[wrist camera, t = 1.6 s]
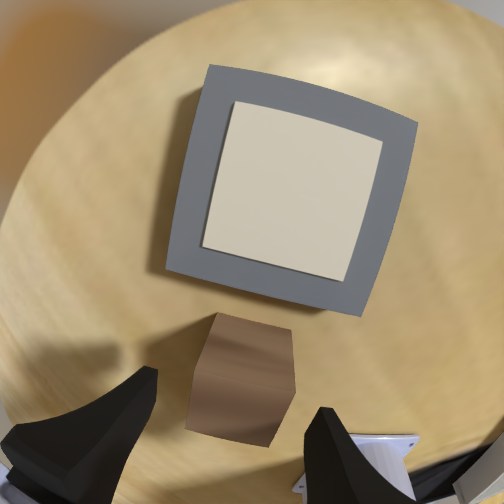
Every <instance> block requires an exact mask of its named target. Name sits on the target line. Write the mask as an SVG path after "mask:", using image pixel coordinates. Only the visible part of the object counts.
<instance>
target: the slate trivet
mask: <svg viewBox="0 0 504 504" xmlns="http://www.w3.org/2000/svg"><path fill="white" fill-rule="evenodd" d="M417 127H418V122H416V121H414V120H412V119H409V118H407V117H405V116H402V115H400V114H398V113H395V112H393V111H390V110H388V109H385V108H383V107H380V106H378V105H375V104H372V103H370V102H367V101H364V100H361V99H359V98H356V97H353V96H350V95H347V94H344V93H341V92H337V91H334V90H331V89H328V88H324V87H321V86H317V85H314V84H310V83H306V82H302V81H298V80H294V79H290V78H286V77H281V76H277V75H272V74H267V73H262V72H257V71H251V70H246V69H240V68H233V67H226V66H219V65H211V64H209V68H208V71H207V74H206V78H205V81H204V85H203V88H202V92H201V95H200V99H199V103H198V107H197V110H196V114H195V118H194V122H193V126H192V130H191V134H190V139H189V143H188V147H187V152H186V156H185V161H184V165H183V170H182V175H181V180H180V185H179V190H178V195H177V200H176V205H175V211H174V216H173V222H172V228H171V234H170V240H169V247H168V253H167V260H166V267H165V269H166V270H170V271H173V272H177V273H180V274H184V275H188V276H191V277H195V278H199V279H203V280H206V281H210V282H214V283H218V284H222V285H225V286H229V287H233V288H237V289H241V290H245V291H249V292H253V293H257V294H261V295H265V296H270V297H274V298H278V299H282V300H286V301H291V302H295V303H299V304H303V305H308V306H312V307H317V308H321V309H326V310H330V311H335V312H339V313H344V314H349V315H353V316H358V317H361V315H362V313H363V311H364V308H365V306H366V303H367V301H368V298H369V296H370V293H371V290H372V288H373V285H374V282H375V280H376V277H377V274H378V271H379V269H380V266H381V263H382V260H383V257H384V254H385V251H386V248H387V245H388V242H389V239H390V236H391V233H392V229H393V226H394V223H395V219H396V216H397V212H398V209H399V205H400V202H401V198H402V194H403V190H404V187H405V183H406V179H407V174H408V170H409V166H410V161H411V157H412V152H413V147H414V143H415V137H416V132H417Z"/></svg>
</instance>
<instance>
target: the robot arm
mask: <svg viewBox="0 0 504 504" xmlns="http://www.w3.org/2000/svg"><path fill="white" fill-rule="evenodd" d="M157 376H158V370H157V369H154V368H151V367H148V366H143V367H142V368H140V369H139V370H138V371H137V372H136V373H134V374H133V375H132V376H131V377H129V378H128V379H127V380H125V381H124V382H123V383H121V384H120V385H118V386H117V387H116V388H114V389H113V390H111V391H110V392H108V393H107V394H105V395H103V396H102V397H100V398H98V399H97V400H95V401H93V402H91V403H89V404H87V405H85V406H83V407H81V408H79V409H77V410H74V411H72V412H69V413H66V414H64V415H61V416H57V417H54V418H50V419H46V420H42V421H38V422H31V423H24V424H16V425H15V426H14V427H13V428H12V429H11V430H10V431H9V433H8V434H7V435H6V437H5V438H4V439H3V440H2V441H1V443H0V445H1V449H2V450H3V452H4V454H5V455H6V456H7V458H8V459H9V461H10V462H11V464H12V465H13V467H12V469H11V470H9V468H8V467H6V466H5V465H4V464H3V463H2V462H0V504H111V502H112V499H113V496H114V493H115V490H116V487H117V484H118V482H119V479H120V476H121V474H122V471H123V468H124V466H125V463H126V461H127V459H128V457H129V454H130V453H131V451H132V449H133V447H134V445H135V443H136V442H137V440H138V438H139V436H140V434H141V433H142V431H143V429H144V427H145V425H146V423H147V422H148V420H149V418H150V415H151V413H152V410H153V407H154V405H155V402H156V394H157ZM419 440H420V437H419V435H416V434H415V435H359V434H348V432H347V431H346V429H345V427H344V426H343V424H342V422H341V421H340V419H339V417H338V416H337V414H336V412H335V411H334V409H333V408H327V407H320V408H319V410H318V412H317V413H316V415H315V417H314V419H313V420H312V422H311V424H310V425H309V427H308V429H307V430H306V432H305V434H304V464H305V473H304V474H303V475H302V477H301V478H300V479H299V480H298V482H297V483H296V484H295V485H294V486H293V488H292V492H294V493H302V504H420V503H419V502H417V501H416V499H415V496H414V493H413V489H412V486H411V483H410V480H409V477H408V474H407V471H406V467H405V464H404V461H403V458H404V457H405V456H406V455H407V454H408V452H409V451H410V450H411V449H412V448H413V447H414V446H415V445H416V443H417V442H418V441H419Z"/></svg>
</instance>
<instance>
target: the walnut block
mask: <svg viewBox="0 0 504 504" xmlns="http://www.w3.org/2000/svg"><path fill="white" fill-rule="evenodd" d="M295 393H296V388H295V373H294V359H293V345H292V333H291V330H289V329H285V328H280V327H276V326H271V325H267V324H263V323H259V322H254V321H250V320H246V319H242V318H238V317H234V316H230V315H226V314H223V313H219V312H217V315H216V317H215V320H214V322H213V325H212V327H211V330H210V332H209V335H208V337H207V340H206V342H205V345H204V347H203V350H202V352H201V355H200V357H199V360H198V362H197V365H196V367H195V370H194V376H193V381H192V387H191V394H190V400H189V406H188V412H187V419H186V425H185V429H187V430H190V431H194V432H198V433H201V434H205V435H209V436H213V437H217V438H221V439H226V440H230V441H235V442H240V443H245V444H250V445H256V446H262V447H268V448H269V446H270V444H271V442H272V440H273V438H274V436H275V434H276V432H277V430H278V428H279V426H280V424H281V422H282V420H283V418H284V416H285V414H286V412H287V410H288V408H289V406H290V404H291V402H292V399H293V397H294V395H295Z"/></svg>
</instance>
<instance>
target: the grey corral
mask: <svg viewBox="0 0 504 504" xmlns="http://www.w3.org/2000/svg"><path fill="white" fill-rule="evenodd" d="M452 485H453V487H454V490H455V492H456V495H457V497H458V500H459V503H460V504H475V503H478V502H480V501H483V500H485V499H487V498H490V497H492V496H494V495H496V494H498V493H501V492H503V491H504V432H503V433H502V434H501V435H500V436H499V437H498V439H497V440H496V441H495V442H494V443H493V444H492V446H491V447H490V448H489V449H488V450H487V451H486V452H485V453H484V454H483V455H482V456H481V457H480V458H479V459H478V461H477V462H476V463H475V464H474V465H473V466H472V467H471V468H470V469H468V470H467V471H466V472H465V473H464V474H463V475H462V476H461V477H460V478H459V479H458V480H457V481H456V482H455V483H453V484H452Z"/></svg>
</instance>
